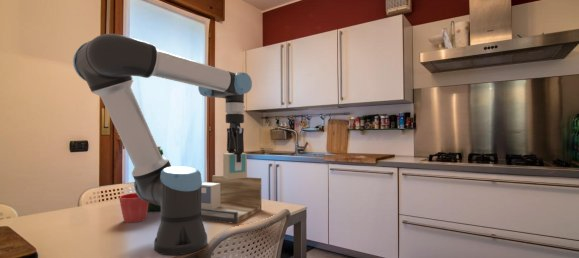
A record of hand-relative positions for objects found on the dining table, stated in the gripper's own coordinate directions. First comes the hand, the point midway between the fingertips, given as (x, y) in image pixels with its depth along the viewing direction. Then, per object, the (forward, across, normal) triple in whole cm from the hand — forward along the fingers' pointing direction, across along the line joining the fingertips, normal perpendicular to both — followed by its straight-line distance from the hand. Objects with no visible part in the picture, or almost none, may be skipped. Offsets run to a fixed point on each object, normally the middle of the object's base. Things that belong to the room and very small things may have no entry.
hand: (235, 169), depth 124 cm
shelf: (+19, +6, +3) cm, 20 cm away
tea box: (+3, 0, 0) cm, 3 cm away
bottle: (+19, +27, +27) cm, 43 cm away
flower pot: (+19, +14, +36) cm, 43 cm away
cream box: (+17, +11, +8) cm, 22 cm away
